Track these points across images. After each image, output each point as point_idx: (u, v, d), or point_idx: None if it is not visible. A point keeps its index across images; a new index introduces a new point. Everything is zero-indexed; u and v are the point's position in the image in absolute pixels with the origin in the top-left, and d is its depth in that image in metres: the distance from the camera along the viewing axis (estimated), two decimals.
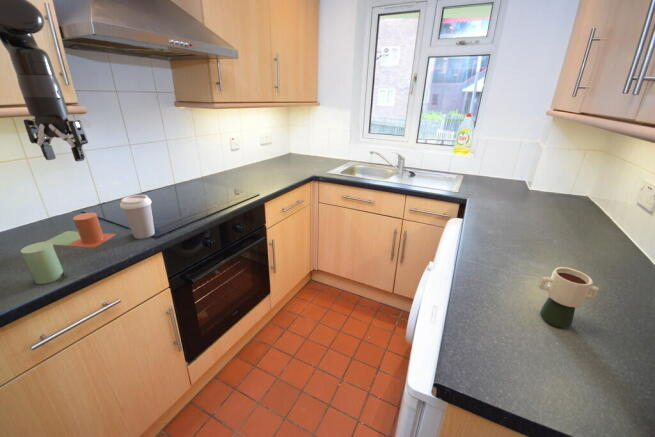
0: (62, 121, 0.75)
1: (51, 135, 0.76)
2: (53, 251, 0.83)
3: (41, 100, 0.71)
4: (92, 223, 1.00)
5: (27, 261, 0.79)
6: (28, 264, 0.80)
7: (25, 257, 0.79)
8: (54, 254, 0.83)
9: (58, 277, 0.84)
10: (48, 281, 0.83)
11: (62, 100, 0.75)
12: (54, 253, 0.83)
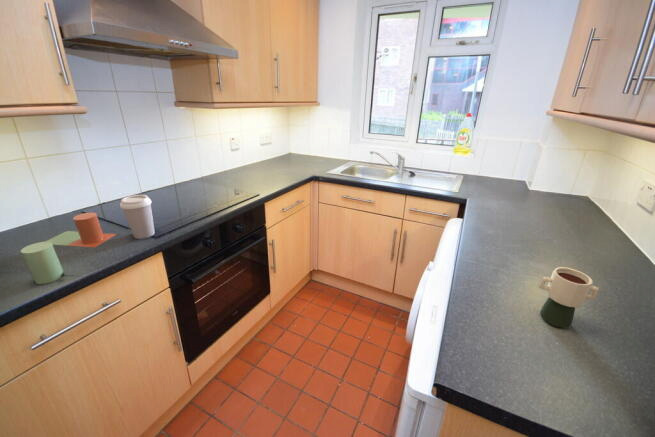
0: None
1: None
2: (53, 251, 0.83)
3: None
4: (92, 223, 1.00)
5: (27, 261, 0.79)
6: (28, 264, 0.80)
7: (25, 257, 0.79)
8: (54, 254, 0.83)
9: (58, 277, 0.84)
10: (48, 281, 0.83)
11: None
12: (54, 253, 0.83)
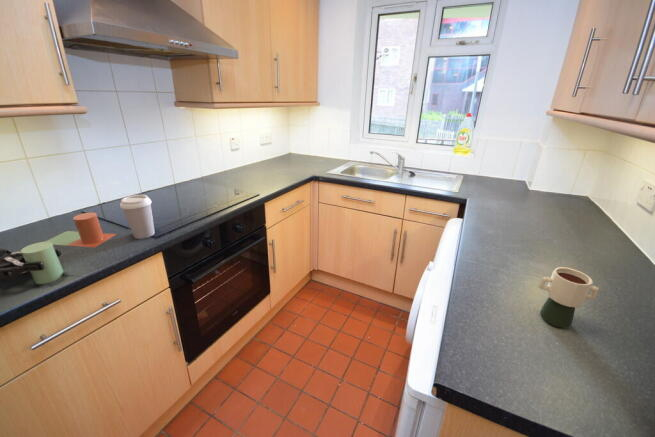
0: None
1: (20, 257, 0.81)
2: (53, 251, 0.83)
3: None
4: (92, 223, 1.00)
5: (27, 261, 0.79)
6: None
7: (25, 257, 0.79)
8: (54, 254, 0.83)
9: (58, 277, 0.84)
10: (48, 281, 0.83)
11: None
12: (54, 253, 0.83)
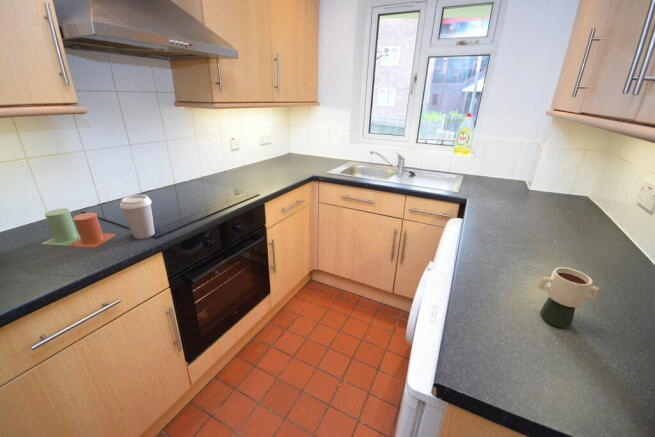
0: None
1: None
2: (70, 214, 1.04)
3: None
4: (92, 223, 1.00)
5: (54, 222, 0.99)
6: (54, 225, 1.00)
7: (53, 218, 0.99)
8: (71, 217, 1.04)
9: (77, 235, 1.06)
10: (71, 238, 1.04)
11: None
12: (71, 216, 1.04)
